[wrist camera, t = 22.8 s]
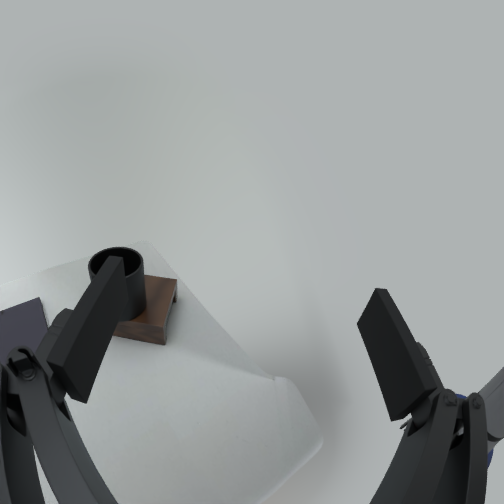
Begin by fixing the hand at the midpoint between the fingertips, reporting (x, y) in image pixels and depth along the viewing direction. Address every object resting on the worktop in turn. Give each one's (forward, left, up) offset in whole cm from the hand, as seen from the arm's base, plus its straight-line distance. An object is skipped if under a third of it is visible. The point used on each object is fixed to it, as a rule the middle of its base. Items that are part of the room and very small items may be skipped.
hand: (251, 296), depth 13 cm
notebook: (+37, -11, -31) cm, 49 cm away
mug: (+18, -24, -26) cm, 40 cm away
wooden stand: (+17, -26, -30) cm, 44 cm away
